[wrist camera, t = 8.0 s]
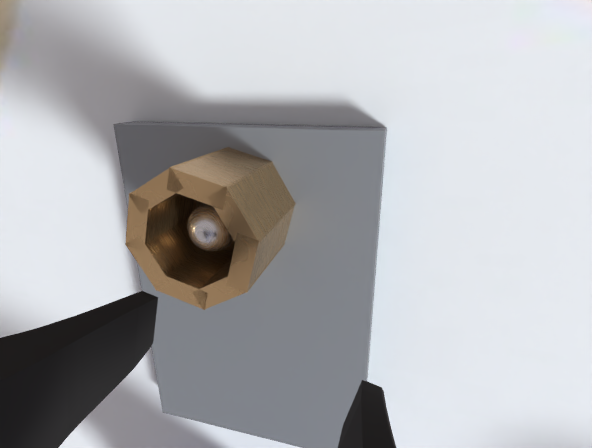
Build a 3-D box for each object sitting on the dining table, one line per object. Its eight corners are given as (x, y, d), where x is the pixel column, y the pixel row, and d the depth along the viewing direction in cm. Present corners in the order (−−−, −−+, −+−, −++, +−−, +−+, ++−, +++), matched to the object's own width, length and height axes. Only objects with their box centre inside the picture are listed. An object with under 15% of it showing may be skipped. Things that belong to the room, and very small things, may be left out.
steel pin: (234, 232, 20) (195, 267, 16) (213, 197, 19) (168, 223, 16) (267, 216, 19) (234, 248, 15) (246, 178, 19) (205, 201, 15)
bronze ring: (226, 270, 21) (176, 321, 16) (171, 182, 20) (102, 210, 15) (312, 231, 19) (281, 279, 14) (255, 130, 18) (202, 145, 13)
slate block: (362, 441, 24) (359, 462, 23) (174, 396, 28) (162, 412, 27) (386, 127, 17) (384, 131, 16) (132, 121, 21) (113, 124, 20)
